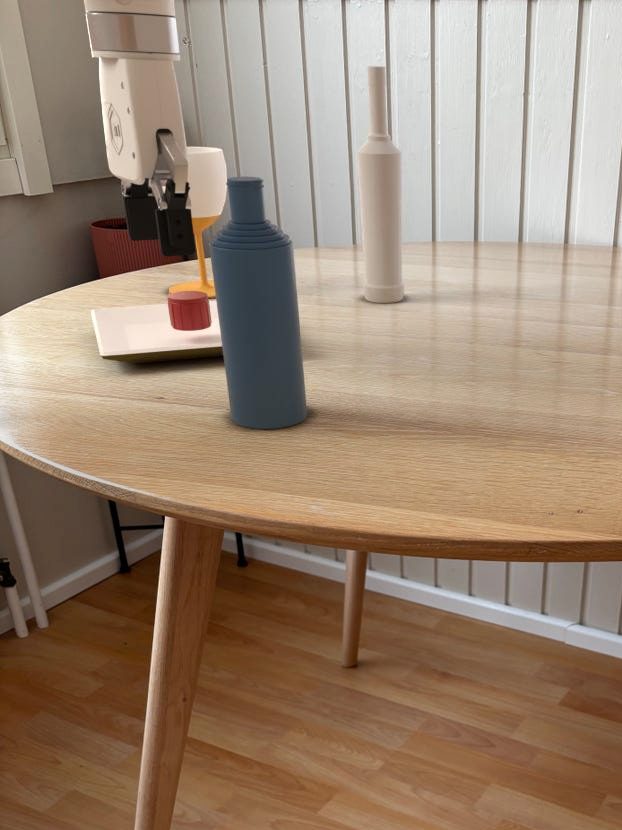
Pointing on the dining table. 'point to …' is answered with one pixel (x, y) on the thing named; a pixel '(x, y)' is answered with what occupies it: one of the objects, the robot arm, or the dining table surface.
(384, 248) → the bottle
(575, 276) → the dining table surface
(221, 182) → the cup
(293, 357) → the water bottle
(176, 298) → the cap
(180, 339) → the plate
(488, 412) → the dining table surface
